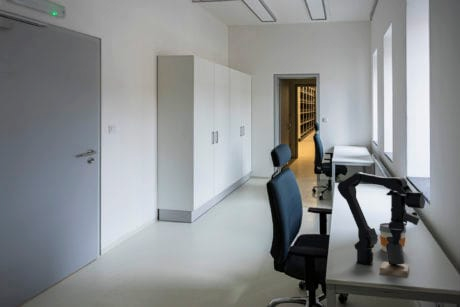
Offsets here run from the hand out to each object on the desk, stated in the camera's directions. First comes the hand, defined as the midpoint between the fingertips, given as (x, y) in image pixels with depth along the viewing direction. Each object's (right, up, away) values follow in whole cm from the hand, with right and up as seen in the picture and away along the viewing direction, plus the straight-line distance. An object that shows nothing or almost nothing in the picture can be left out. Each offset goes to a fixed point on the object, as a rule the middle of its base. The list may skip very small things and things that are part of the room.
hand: (398, 242), depth 178 cm
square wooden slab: (-1, -14, +1) cm, 14 cm away
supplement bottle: (0, -10, +1) cm, 10 cm away
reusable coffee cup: (+8, -13, +28) cm, 31 cm away
